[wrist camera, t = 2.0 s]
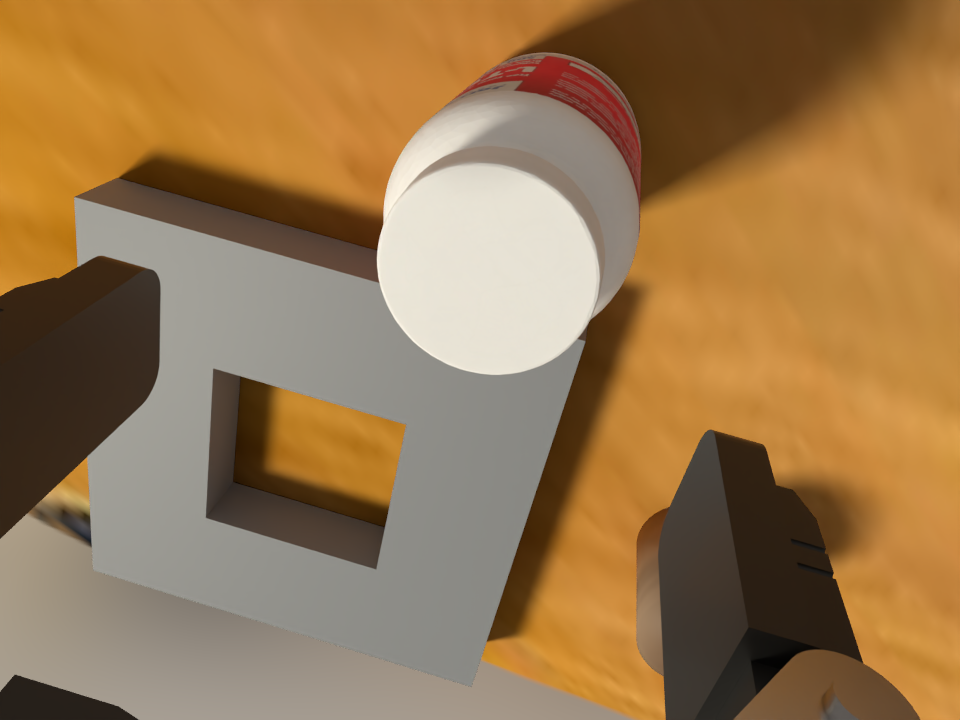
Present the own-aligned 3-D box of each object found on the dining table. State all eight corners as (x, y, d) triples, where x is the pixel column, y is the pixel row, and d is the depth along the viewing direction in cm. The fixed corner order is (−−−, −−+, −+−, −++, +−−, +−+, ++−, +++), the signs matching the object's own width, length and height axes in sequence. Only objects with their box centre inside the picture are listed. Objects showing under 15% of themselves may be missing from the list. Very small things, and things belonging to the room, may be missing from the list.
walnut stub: (768, 522, 30) (789, 618, 26) (725, 600, 33) (739, 701, 28) (657, 490, 31) (660, 579, 26) (622, 570, 33) (620, 664, 29)
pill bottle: (545, 3, 23) (478, 44, 14) (681, 150, 24) (708, 282, 15) (415, 151, 26) (283, 271, 16) (543, 275, 27) (491, 454, 18)
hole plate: (589, 310, 27) (585, 341, 25) (481, 643, 36) (471, 687, 34) (117, 178, 28) (74, 197, 26) (124, 534, 37) (93, 570, 35)
